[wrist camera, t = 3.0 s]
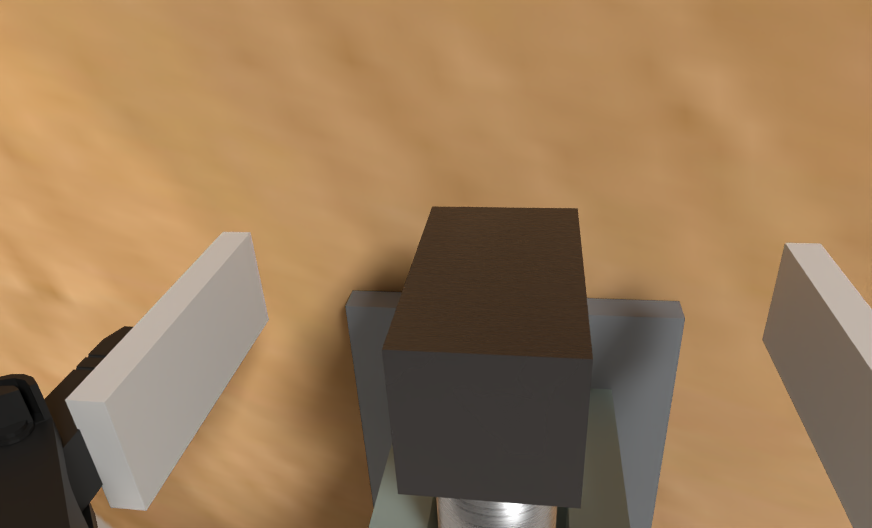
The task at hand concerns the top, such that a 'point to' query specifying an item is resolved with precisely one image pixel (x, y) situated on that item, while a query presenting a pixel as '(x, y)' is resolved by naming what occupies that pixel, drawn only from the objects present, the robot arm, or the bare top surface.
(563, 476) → the shaft
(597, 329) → the bearing stand
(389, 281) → the top surface
